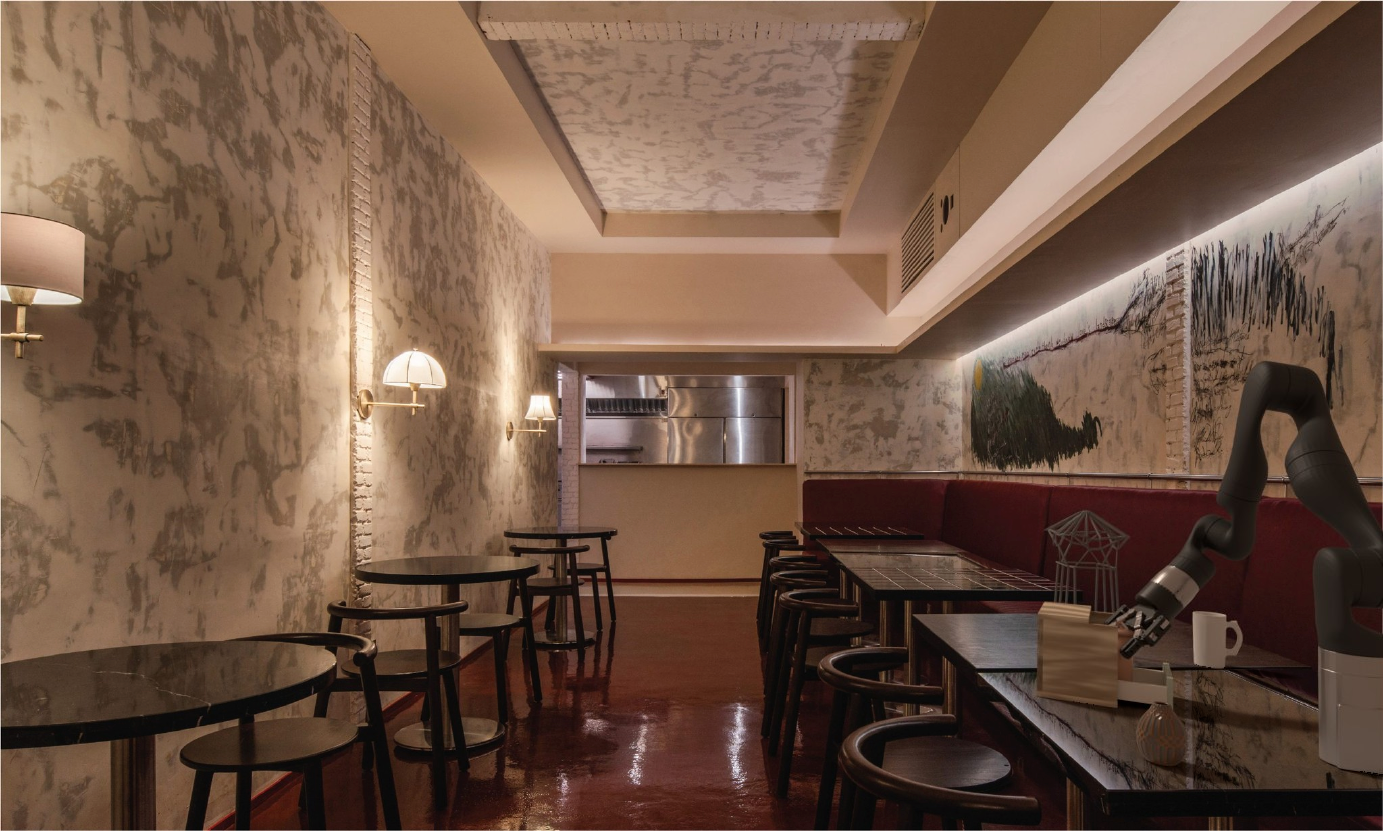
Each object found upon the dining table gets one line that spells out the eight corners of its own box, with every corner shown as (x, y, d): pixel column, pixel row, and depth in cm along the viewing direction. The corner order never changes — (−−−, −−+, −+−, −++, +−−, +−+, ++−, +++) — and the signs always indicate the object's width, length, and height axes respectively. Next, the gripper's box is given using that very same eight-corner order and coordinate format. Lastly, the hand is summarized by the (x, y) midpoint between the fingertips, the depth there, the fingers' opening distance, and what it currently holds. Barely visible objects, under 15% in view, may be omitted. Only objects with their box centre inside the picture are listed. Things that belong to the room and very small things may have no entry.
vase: (1170, 754, 132) (1170, 697, 132) (1198, 770, 125) (1198, 710, 125) (1126, 753, 132) (1127, 696, 132) (1152, 769, 125) (1152, 709, 125)
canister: (1134, 690, 162) (1134, 633, 163) (1101, 686, 165) (1102, 630, 165) (1134, 684, 167) (1134, 629, 168) (1102, 680, 170) (1103, 625, 170)
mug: (1195, 666, 196) (1195, 614, 197) (1190, 660, 202) (1190, 610, 203) (1246, 672, 192) (1245, 619, 193) (1239, 666, 198) (1239, 614, 199)
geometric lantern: (1105, 650, 211) (1106, 510, 213) (1132, 665, 195) (1133, 513, 197) (1040, 647, 212) (1042, 507, 214) (1061, 661, 197) (1063, 510, 199)
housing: (1117, 708, 158) (1117, 621, 159) (1036, 696, 164) (1037, 613, 165) (1117, 687, 174) (1117, 608, 175) (1043, 677, 180) (1044, 601, 181)
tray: (1173, 711, 155) (1173, 678, 155) (1092, 700, 161) (1092, 668, 161) (1168, 693, 168) (1168, 663, 169) (1094, 683, 174) (1094, 654, 175)
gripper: (1133, 575, 174) (1079, 630, 173) (1177, 585, 160) (1118, 644, 159) (1158, 602, 174) (1104, 656, 173) (1203, 614, 160) (1145, 673, 159)
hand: (1111, 651), depth 166 cm, fingers open, 8 cm apart
